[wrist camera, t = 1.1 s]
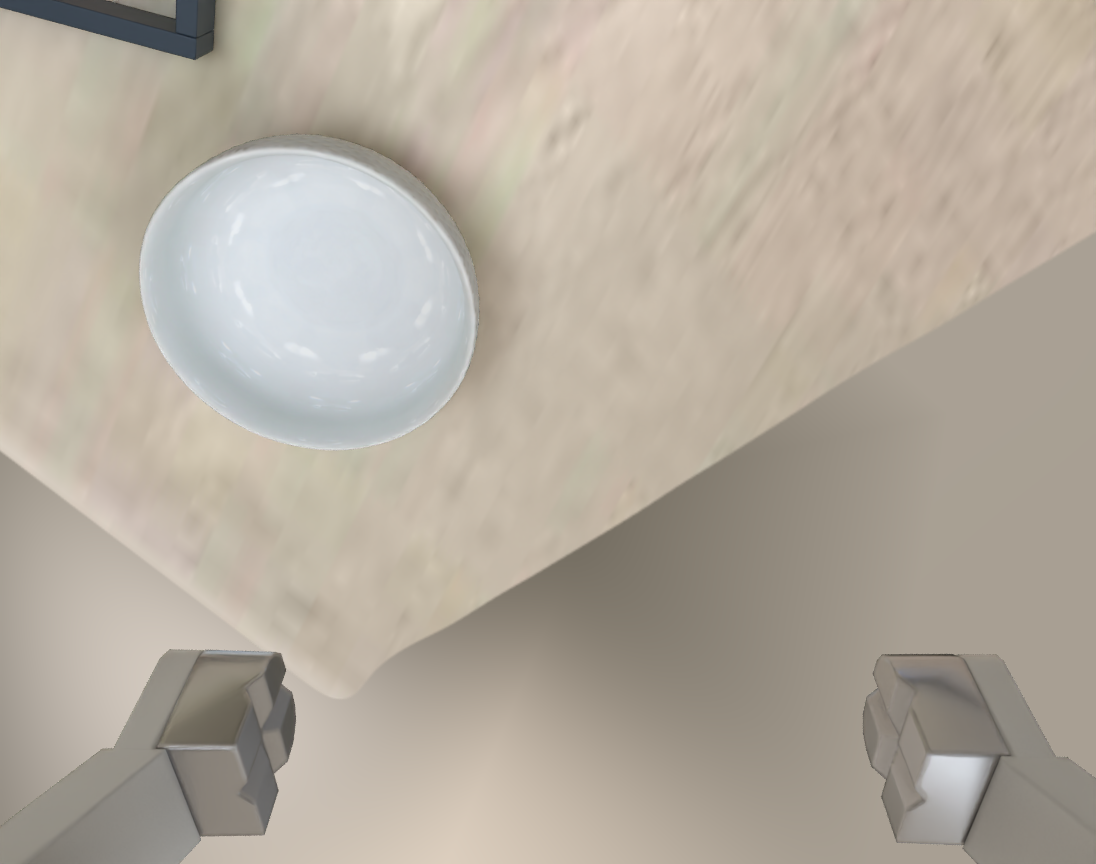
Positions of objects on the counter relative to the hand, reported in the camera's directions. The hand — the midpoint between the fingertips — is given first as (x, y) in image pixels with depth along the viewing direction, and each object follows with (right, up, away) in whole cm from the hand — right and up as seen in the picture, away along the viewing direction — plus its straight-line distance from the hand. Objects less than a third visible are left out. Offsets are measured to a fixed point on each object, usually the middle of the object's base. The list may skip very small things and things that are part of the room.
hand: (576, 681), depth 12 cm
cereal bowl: (-12, +13, +38) cm, 42 cm away
